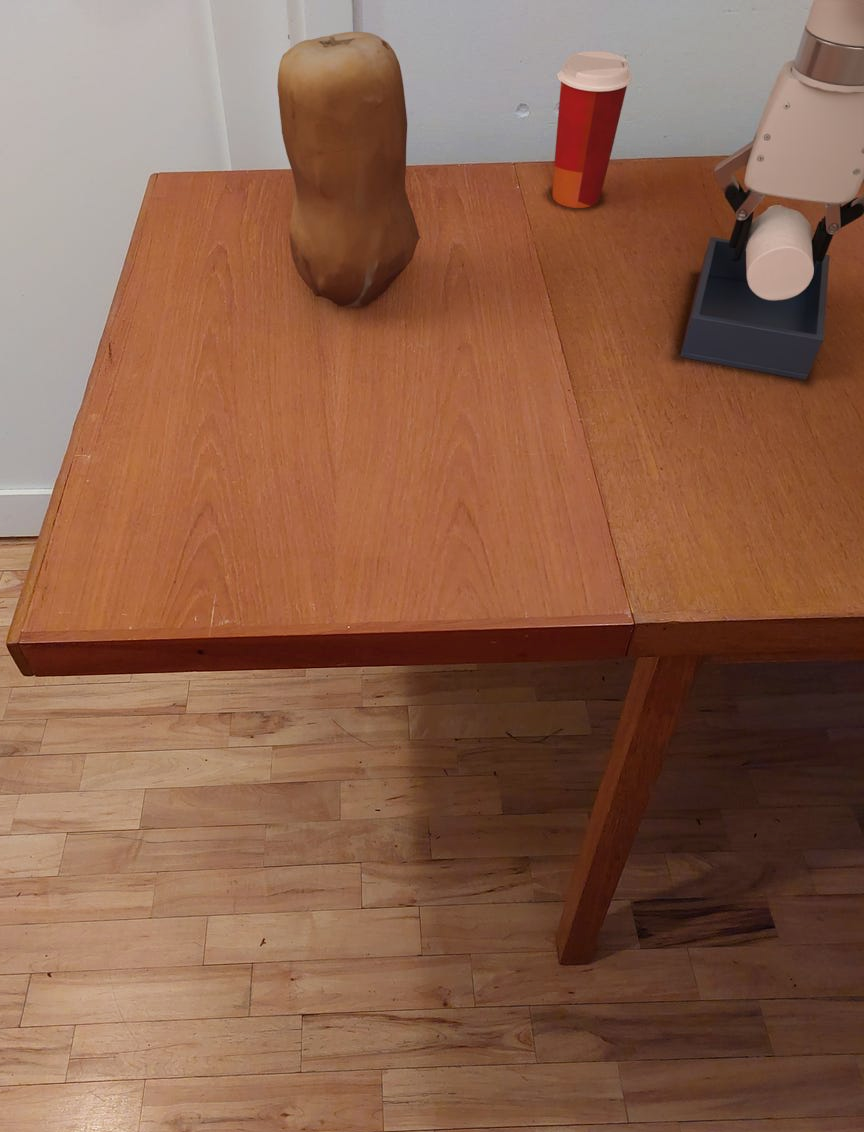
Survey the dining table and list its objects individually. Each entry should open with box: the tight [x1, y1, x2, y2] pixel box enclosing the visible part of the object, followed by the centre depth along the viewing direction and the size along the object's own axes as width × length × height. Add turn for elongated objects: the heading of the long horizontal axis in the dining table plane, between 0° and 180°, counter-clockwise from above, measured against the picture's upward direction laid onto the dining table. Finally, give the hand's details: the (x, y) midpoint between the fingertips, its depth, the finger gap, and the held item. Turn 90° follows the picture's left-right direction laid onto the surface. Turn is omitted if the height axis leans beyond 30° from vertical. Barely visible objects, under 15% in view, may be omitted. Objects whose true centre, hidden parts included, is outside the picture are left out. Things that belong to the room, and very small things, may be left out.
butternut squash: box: [276, 31, 421, 308], centre depth 89 cm, size 14×13×25 cm
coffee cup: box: [552, 50, 633, 209], centre depth 106 cm, size 8×8×15 cm
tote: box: [679, 236, 831, 381], centre depth 93 cm, size 16×12×5 cm
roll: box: [746, 204, 814, 301], centre depth 87 cm, size 6×12×6 cm, turn 166°
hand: (772, 258), depth 89 cm, fingers closed on roll, 6 cm apart
